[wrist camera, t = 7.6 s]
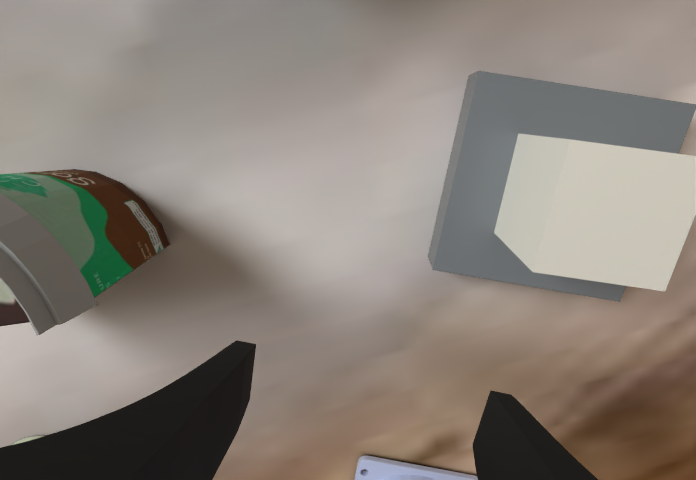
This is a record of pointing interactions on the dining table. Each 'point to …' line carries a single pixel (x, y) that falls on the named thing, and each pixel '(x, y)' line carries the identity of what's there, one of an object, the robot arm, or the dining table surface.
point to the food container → (68, 243)
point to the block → (597, 210)
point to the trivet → (496, 156)
